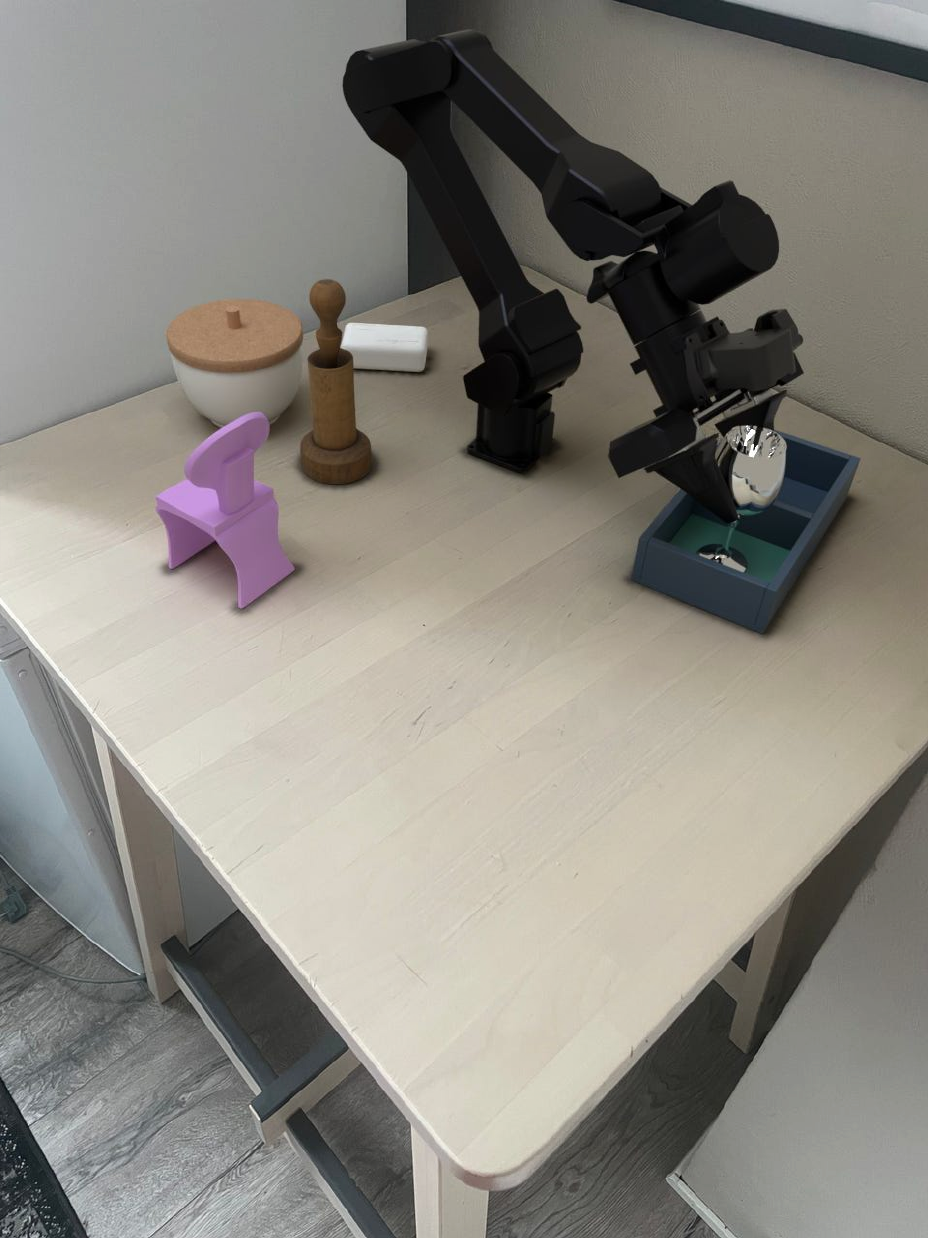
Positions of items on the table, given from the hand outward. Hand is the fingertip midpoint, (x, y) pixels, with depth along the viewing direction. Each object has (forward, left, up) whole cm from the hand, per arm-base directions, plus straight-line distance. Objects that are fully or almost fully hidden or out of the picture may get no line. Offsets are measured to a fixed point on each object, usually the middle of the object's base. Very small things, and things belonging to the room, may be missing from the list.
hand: (754, 506), depth 82 cm
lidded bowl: (-50, -4, -7) cm, 51 cm away
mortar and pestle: (-37, -6, -7) cm, 38 cm away
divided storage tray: (-1, +6, -7) cm, 9 cm away
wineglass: (-1, 0, -7) cm, 7 cm away
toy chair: (-35, -23, -7) cm, 43 cm away
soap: (-45, +13, -7) cm, 48 cm away
